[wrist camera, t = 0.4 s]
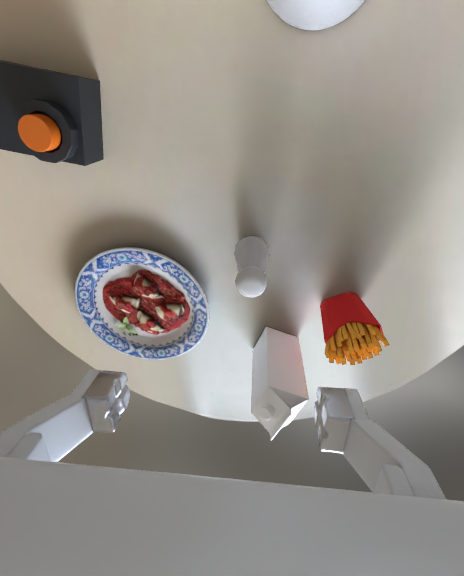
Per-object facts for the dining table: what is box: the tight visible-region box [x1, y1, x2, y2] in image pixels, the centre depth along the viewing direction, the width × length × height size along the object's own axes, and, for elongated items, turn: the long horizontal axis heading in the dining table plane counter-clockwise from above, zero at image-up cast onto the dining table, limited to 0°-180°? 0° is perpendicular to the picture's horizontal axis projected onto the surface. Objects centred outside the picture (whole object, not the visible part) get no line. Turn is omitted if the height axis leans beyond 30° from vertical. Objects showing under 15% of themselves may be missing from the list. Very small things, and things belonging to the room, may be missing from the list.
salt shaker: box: [234, 236, 270, 297], centre depth 46 cm, size 6×6×13 cm
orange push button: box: [18, 114, 61, 152], centre depth 37 cm, size 4×4×2 cm
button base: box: [0, 60, 103, 166], centre depth 40 cm, size 14×10×8 cm
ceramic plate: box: [75, 247, 209, 359], centre depth 58 cm, size 26×26×3 cm
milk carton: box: [251, 327, 309, 440], centre depth 54 cm, size 7×7×19 cm
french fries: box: [320, 292, 389, 365], centre depth 50 cm, size 9×4×13 cm, turn 116°
